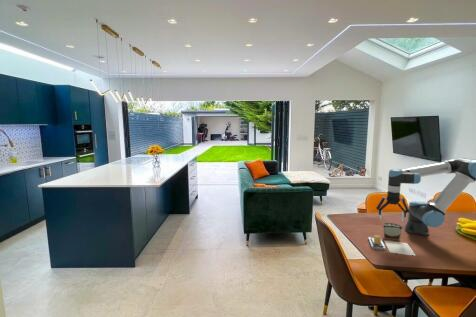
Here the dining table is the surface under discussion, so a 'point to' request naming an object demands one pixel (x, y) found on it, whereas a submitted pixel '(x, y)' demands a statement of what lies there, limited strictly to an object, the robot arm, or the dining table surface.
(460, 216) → the dining table surface
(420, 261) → the dining table surface
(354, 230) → the dining table surface
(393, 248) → the mat
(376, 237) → the yellow block
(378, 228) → the dining table surface
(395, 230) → the food container
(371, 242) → the panel
